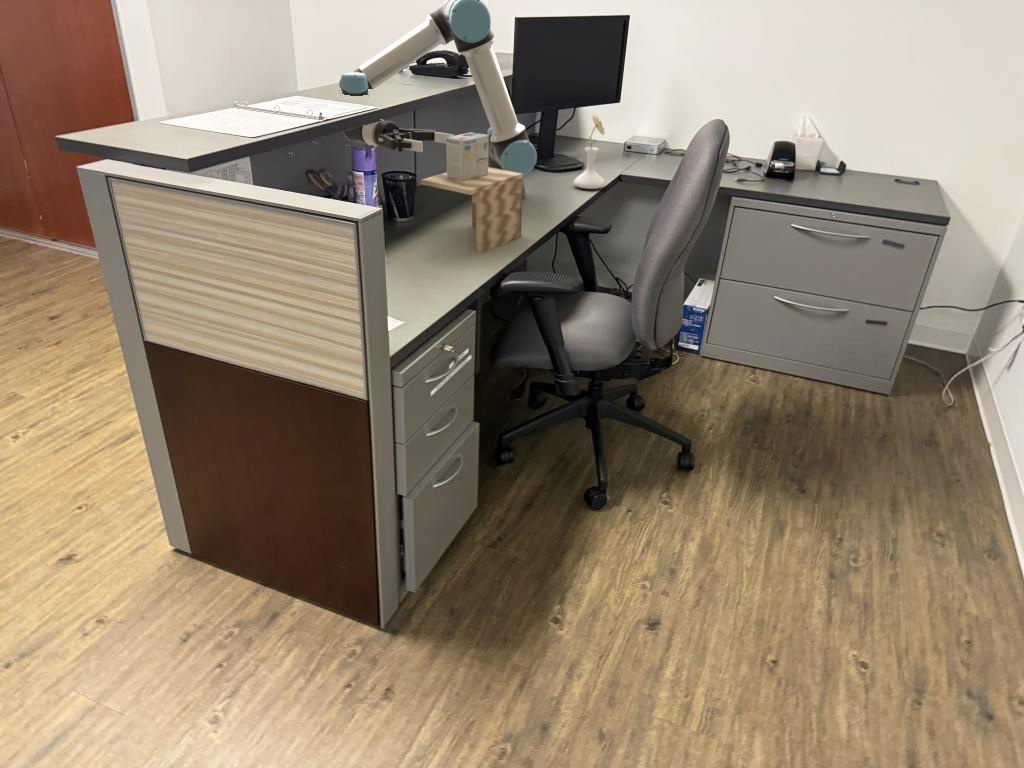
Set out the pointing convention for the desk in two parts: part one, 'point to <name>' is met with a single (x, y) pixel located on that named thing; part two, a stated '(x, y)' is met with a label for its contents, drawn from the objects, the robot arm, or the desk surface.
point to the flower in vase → (591, 164)
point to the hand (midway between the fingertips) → (437, 143)
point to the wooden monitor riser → (489, 204)
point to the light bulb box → (467, 155)
